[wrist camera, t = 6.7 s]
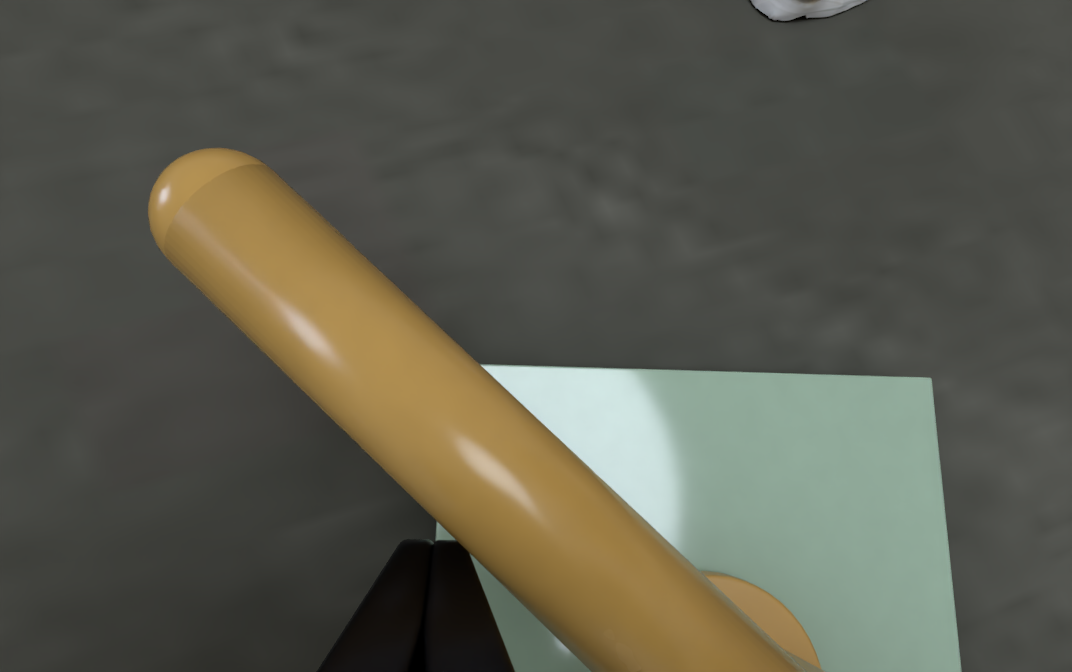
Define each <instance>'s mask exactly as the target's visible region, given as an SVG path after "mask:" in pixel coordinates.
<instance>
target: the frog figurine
mask: <svg viewBox="0 0 1072 672" xmlns="http://www.w3.org/2000/svg"><path fill="white" fill-rule="evenodd" d="M751 1H752V4H753V5H754V6H755V9H756V8H758V9H759V10H760V11H761V12H762V13H764V14H765V15H767V16H768V18H769V19H773V20H781V21H789V20H792V19H795V18H798V17H800V16H804V15H806V18H809V17H811V18H814V17H815V18H816V17H829V16H832V15H835V14H837V13H841V12H842V11H846V10H848V9H849V8H852V7H853V6H856V5H859V4H861V3H863V2H865V1H867V0H751Z"/></svg>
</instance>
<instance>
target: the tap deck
mask: <svg viewBox="0 0 1072 672" xmlns="http://www.w3.org/2000/svg"><path fill="white" fill-rule="evenodd" d="M480 365H481V366H482V367H483V368H484V369H485V370H486V371H487V372H488V373H490V374H491V375H492V376H493V377H494V378H495V379H496V380H497V381H498V382H499V383H500V384H501V385H502V386H503V387H504V388H506V389H507V390H508V391H509V392H510V393H511V394H512V395H513V396H514V397H515V398H516V399H517V400H518V401H519V402H520V403H521V404H523V405H524V406H525V407H526V408H527V409H528V410H529V411H530V412H531V413H532V414H533V415H534V416H535V417H536V418H537V419H539V420H540V421H541V422H542V423H543V424H544V425H545V426H546V427H547V428H548V429H549V430H550V431H551V432H552V433H553V434H554V435H556V436H557V437H558V438H559V439H560V440H561V441H562V442H563V443H564V444H565V445H566V446H567V447H568V448H569V449H570V450H572V451H573V452H574V453H575V454H576V455H577V456H578V457H579V458H580V459H581V460H582V461H583V462H584V463H585V464H586V465H587V466H589V467H590V468H591V469H592V470H593V471H594V472H595V473H596V474H597V475H598V476H599V477H600V478H601V479H602V480H603V481H605V482H606V483H607V484H608V485H609V486H610V487H611V488H612V489H613V490H614V491H615V492H616V493H617V494H618V495H619V496H620V497H622V498H623V499H624V500H625V501H626V502H627V503H628V504H629V505H630V506H631V507H632V508H633V509H634V510H635V511H636V512H638V513H639V514H640V515H641V516H642V517H643V518H644V519H645V520H646V521H647V522H648V523H649V524H650V525H651V526H652V527H653V528H655V529H656V530H657V531H658V532H659V533H660V534H661V535H662V536H663V537H664V538H665V539H666V540H667V541H668V542H669V543H671V544H672V545H673V546H674V547H675V548H676V549H677V550H678V551H679V552H680V553H681V554H682V555H683V556H684V557H685V558H686V559H688V560H689V561H690V562H691V563H692V564H693V565H694V566H695V567H696V568H697V569H698V570H699V571H710V572H718V573H723V574H727V575H730V576H734V577H736V578H739V579H742V580H744V581H747V582H749V583H752V584H754V585H756V586H758V587H760V588H762V589H763V590H765V591H767V592H768V593H770V594H771V595H773V596H774V597H775V598H776V599H778V600H779V601H780V602H782V603H783V604H784V605H785V606H786V607H787V608H788V609H789V610H790V611H791V612H792V614H793V615H794V616H795V617H796V619H797V620H798V621H799V622H800V624H801V625H802V627H803V628H804V630H805V632H806V633H807V635H808V636H809V638H810V640H811V642H812V645H813V647H814V649H815V651H816V654H817V657H818V660H819V663H820V666H821V669H822V670H823V671H825V672H962V671H961V661H960V651H959V642H958V632H957V622H956V613H955V603H954V593H953V583H952V574H951V564H950V554H949V545H948V535H947V525H946V515H945V506H944V496H943V486H942V477H941V467H940V457H939V448H938V438H937V428H936V418H935V409H934V399H933V389H932V380H931V378H929V377H896V376H863V375H829V374H796V373H763V372H730V371H696V370H663V369H630V368H596V367H563V366H530V365H496V364H480ZM437 540H456V539H455V538H453V537H452V536H451V535H450V534H449V533H448V532H447V531H446V530H445V529H444V528H443V527H442V526H441V525H440V524H439V523H438V522H437V521H436V540H435V541H437ZM470 556H471V558H472V561H473V563H474V566H475V569H476V571H477V574H478V576H479V579H480V582H481V584H482V587H483V589H484V592H485V595H486V597H487V600H488V602H489V605H490V608H491V610H492V613H493V615H494V618H495V621H496V623H497V626H498V628H499V631H500V633H501V636H502V639H503V641H504V644H505V646H506V649H507V652H508V654H509V657H510V659H511V662H512V665H513V667H514V670H515V672H591V671H590V670H589V669H588V668H587V667H586V666H585V665H584V664H583V663H582V662H581V661H580V660H579V659H578V658H577V657H576V656H575V655H574V654H573V653H572V652H571V651H570V650H569V649H568V648H567V647H565V646H564V645H563V644H562V643H561V642H560V641H559V640H558V639H557V638H556V637H555V636H554V635H553V634H552V633H551V632H550V631H549V630H548V629H547V628H546V627H545V626H544V625H543V624H542V623H541V622H540V621H539V620H538V619H537V618H536V617H535V616H534V615H533V614H532V613H531V612H530V611H528V610H527V609H526V608H525V607H524V606H523V605H522V604H521V603H520V602H519V601H518V600H517V599H516V598H515V597H514V596H513V595H512V594H511V593H510V592H509V591H508V590H507V589H506V588H505V587H504V586H503V585H502V584H501V583H500V582H499V581H498V580H497V579H496V578H495V577H494V576H493V575H492V574H490V573H489V572H488V571H487V570H486V569H485V568H484V567H483V566H482V565H481V564H480V563H479V562H478V561H477V560H476V559H475V558H474V557H473V556H472V555H471V554H470Z"/></svg>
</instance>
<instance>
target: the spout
mask: <svg viewBox="0 0 1072 672" xmlns="http://www.w3.org/2000/svg"><path fill="white" fill-rule="evenodd" d="M148 220H149V225H150V229H151V232H152V235H153V237H154V239H155V241H156V243H157V245H158V247H159V249H160V250H161V251H162V253H163V254H164V255H165V256H166V258H167V259H168V260H169V261H170V262H171V263H172V264H173V265H174V266H175V267H176V268H177V269H178V270H179V271H180V272H181V273H182V274H183V275H184V276H185V277H186V278H187V279H188V280H189V281H190V282H191V283H192V284H193V285H195V286H196V287H197V288H198V289H199V290H200V291H201V292H202V293H203V294H204V295H205V296H206V297H207V298H208V299H209V300H210V301H211V302H212V303H213V304H214V305H215V306H216V307H217V308H218V309H219V310H220V311H221V312H222V313H223V314H224V315H225V316H226V317H227V318H228V319H229V320H230V321H232V322H233V323H234V324H235V325H236V326H237V327H238V328H239V329H240V330H241V331H242V332H243V333H244V334H245V335H246V336H247V337H248V338H249V339H250V340H251V341H252V342H253V343H254V344H255V345H256V346H257V347H258V348H259V349H260V350H261V351H262V352H263V353H264V354H265V355H266V356H267V357H269V358H270V359H271V360H272V361H273V362H274V363H275V364H276V365H277V366H278V367H279V368H280V369H281V370H282V371H283V372H284V373H285V374H286V375H287V376H288V377H289V378H290V379H291V380H292V381H293V382H294V383H295V384H296V385H297V386H298V387H299V388H300V389H301V390H302V391H303V392H304V393H305V394H307V395H308V396H309V397H310V398H311V399H312V400H313V401H314V402H315V403H316V404H317V405H318V406H319V407H320V408H321V409H322V410H323V411H324V412H325V413H326V414H327V415H328V416H329V417H330V418H331V419H332V420H333V421H334V422H335V423H336V424H337V425H338V426H339V427H340V428H341V429H342V430H344V431H345V432H346V433H347V434H348V435H349V436H350V437H351V438H352V439H353V440H354V441H355V442H356V443H357V444H358V445H359V446H360V447H361V448H362V449H363V450H364V451H365V452H366V453H367V454H368V455H369V456H370V457H371V458H372V459H373V460H374V461H375V462H376V463H377V464H378V465H379V466H381V467H382V468H383V469H384V470H385V471H386V472H387V473H388V474H389V475H390V476H391V477H392V478H393V479H394V480H395V481H396V482H397V483H398V484H399V485H400V486H401V487H402V488H403V489H404V490H405V491H406V492H407V493H408V494H409V495H410V496H411V497H412V498H413V499H414V500H415V501H416V502H418V503H419V504H420V505H421V506H422V507H423V508H424V509H425V510H426V511H427V512H428V513H429V514H430V515H431V516H432V517H433V518H434V519H435V520H436V521H437V522H438V523H439V524H440V525H441V526H442V527H443V528H444V529H445V530H446V531H447V532H448V533H449V534H450V535H451V536H452V537H453V538H455V539H456V540H457V541H458V542H459V543H460V544H461V545H462V546H463V547H464V548H465V549H466V550H467V551H468V552H469V553H470V554H471V555H472V556H473V557H474V558H475V559H476V560H477V561H478V562H479V563H480V564H481V565H482V566H483V567H484V568H485V569H486V570H487V571H488V572H489V573H490V574H492V575H493V576H494V577H495V578H496V579H497V580H498V581H499V582H500V583H501V584H502V585H503V586H504V587H505V588H506V589H507V590H508V591H509V592H510V593H511V594H512V595H513V596H514V597H515V598H516V599H517V600H518V601H519V602H520V603H521V604H522V605H523V606H524V607H525V608H526V609H527V610H528V611H530V612H531V613H532V614H533V615H534V616H535V617H536V618H537V619H538V620H539V621H540V622H541V623H542V624H543V625H544V626H545V627H546V628H547V629H548V630H549V631H550V632H551V633H552V634H553V635H554V636H555V637H556V638H557V639H558V640H559V641H560V642H561V643H562V644H563V645H564V646H565V647H567V648H568V649H569V650H570V651H571V652H572V653H573V654H574V655H575V656H576V657H577V658H578V659H579V660H580V661H581V662H582V663H583V664H584V665H585V666H586V667H587V668H588V669H589V670H590V671H591V672H807V671H806V670H805V669H804V668H803V667H801V666H800V665H799V664H798V663H797V662H796V661H795V660H794V659H793V658H792V657H791V656H790V655H789V654H788V653H787V652H785V651H784V650H783V649H782V648H781V647H780V646H779V645H778V644H777V643H776V642H775V641H774V640H773V639H772V638H771V637H770V636H768V635H767V634H766V633H765V632H764V631H763V630H762V629H761V628H760V627H759V626H758V625H757V624H756V623H755V622H754V621H752V620H751V619H750V618H749V617H748V616H747V615H746V614H745V613H744V612H743V611H742V610H741V609H740V608H739V607H738V606H737V605H735V604H734V603H733V602H732V601H731V600H730V599H729V598H728V597H727V596H726V595H725V594H724V593H723V592H722V591H721V590H719V589H718V588H717V587H716V586H715V585H714V584H713V583H712V582H711V581H710V580H709V579H708V578H707V577H706V576H705V575H704V574H702V573H701V572H700V571H699V570H698V569H697V568H696V567H695V566H694V565H693V564H692V563H691V562H690V561H689V560H688V559H686V558H685V557H684V556H683V555H682V554H681V553H680V552H679V551H678V550H677V549H676V548H675V547H674V546H673V545H672V544H671V543H669V542H668V541H667V540H666V539H665V538H664V537H663V536H662V535H661V534H660V533H659V532H658V531H657V530H656V529H655V528H653V527H652V526H651V525H650V524H649V523H648V522H647V521H646V520H645V519H644V518H643V517H642V516H641V515H640V514H639V513H638V512H636V511H635V510H634V509H633V508H632V507H631V506H630V505H629V504H628V503H627V502H626V501H625V500H624V499H623V498H622V497H620V496H619V495H618V494H617V493H616V492H615V491H614V490H613V489H612V488H611V487H610V486H609V485H608V484H607V483H606V482H605V481H603V480H602V479H601V478H600V477H599V476H598V475H597V474H596V473H595V472H594V471H593V470H592V469H591V468H590V467H589V466H587V465H586V464H585V463H584V462H583V461H582V460H581V459H580V458H579V457H578V456H577V455H576V454H575V453H574V452H573V451H572V450H570V449H569V448H568V447H567V446H566V445H565V444H564V443H563V442H562V441H561V440H560V439H559V438H558V437H557V436H556V435H554V434H553V433H552V432H551V431H550V430H549V429H548V428H547V427H546V426H545V425H544V424H543V423H542V422H541V421H540V420H539V419H537V418H536V417H535V416H534V415H533V414H532V413H531V412H530V411H529V410H528V409H527V408H526V407H525V406H524V405H523V404H521V403H520V402H519V401H518V400H517V399H516V398H515V397H514V396H513V395H512V394H511V393H510V392H509V391H508V390H507V389H506V388H504V387H503V386H502V385H501V384H500V383H499V382H498V381H497V380H496V379H495V378H494V377H493V376H492V375H491V374H490V373H488V372H487V371H486V370H485V369H484V368H483V367H482V366H481V365H480V364H479V363H478V362H477V361H476V360H475V359H474V358H473V357H471V356H470V355H469V354H468V353H467V352H466V351H465V350H464V349H463V348H462V347H461V346H460V345H459V344H458V343H457V342H455V341H454V340H453V339H452V338H451V337H450V336H449V335H448V334H447V333H446V332H445V331H444V330H443V329H442V328H441V327H440V326H438V325H437V324H436V323H435V322H434V321H433V320H432V319H431V318H430V317H429V316H428V315H427V314H426V313H425V312H424V311H422V310H421V309H420V308H419V307H418V306H417V305H416V304H415V303H414V302H413V301H412V300H411V299H410V298H409V297H408V296H406V295H405V294H404V293H403V292H402V291H401V290H400V289H399V288H398V287H397V286H396V285H395V284H394V283H393V282H392V281H391V280H389V279H388V278H387V277H386V276H385V275H384V274H383V273H382V272H381V271H380V270H379V269H378V268H377V267H376V266H375V265H373V264H372V263H371V262H370V261H369V260H368V259H367V258H366V257H365V256H364V255H363V254H362V253H361V252H360V251H359V250H358V249H356V248H355V247H354V246H353V245H352V244H351V243H350V242H349V241H348V240H347V239H346V238H345V237H344V236H343V235H342V234H340V233H339V232H338V231H337V230H336V229H335V228H334V227H333V226H332V225H331V224H330V223H329V222H328V221H327V220H326V219H325V218H323V217H322V216H321V215H320V214H319V213H318V212H317V211H316V210H315V209H314V208H313V207H312V206H311V205H310V204H309V203H307V202H306V201H305V200H304V199H303V198H302V197H301V196H300V195H299V194H298V193H297V192H296V191H295V190H294V189H293V188H292V187H290V186H289V185H288V184H287V183H286V182H285V181H284V180H283V179H282V178H281V177H280V176H279V175H278V174H277V173H276V172H274V171H273V170H272V169H271V168H270V167H268V166H267V165H266V164H265V163H263V162H262V161H260V160H258V159H256V158H254V157H252V156H250V155H248V154H246V153H244V152H240V151H236V150H232V149H226V148H207V149H201V150H197V151H194V152H191V153H188V154H186V155H183V156H181V157H180V158H178V159H176V160H175V161H174V162H172V163H171V164H170V165H169V166H167V167H166V168H165V169H164V171H163V172H162V173H161V174H160V175H159V177H158V179H157V180H156V182H155V184H154V187H153V189H152V191H151V194H150V198H149V205H148Z"/></svg>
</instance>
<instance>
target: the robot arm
mask: <svg viewBox="0 0 1072 672" xmlns="http://www.w3.org/2000/svg"><path fill="white" fill-rule="evenodd" d="M317 672H515V670H514V667H513V665H512V662H511V659H510V657H509V654H508V652H507V649H506V646H505V644H504V641H503V639H502V636H501V633H500V631H499V628H498V626H497V623H496V621H495V618H494V615H493V613H492V610H491V608H490V605H489V602H488V600H487V597H486V595H485V592H484V589H483V587H482V584H481V582H480V579H479V576H478V574H477V571H476V569H475V566H474V563H473V561H472V558H471V556H470V553H469V552H468V551H467V550H466V549H465V548H464V547H463V546H462V545H461V544H460V543H459V542H458V541H457V540H437V541H435V542H434V544H433V542H432V541H430V540H422V539H407V540H403V541H402V542H401V543H400V544H399V545H398V546H397V548H396V549H395V551H394V553H393V554H392V556H391V557H390V559H389V560H388V562H387V563H386V565H385V567H384V568H383V570H382V571H381V573H380V574H379V576H378V577H377V579H376V580H375V582H374V584H373V585H372V587H371V588H370V590H369V591H368V593H367V594H366V596H365V598H364V599H363V601H362V602H361V604H360V605H359V607H358V608H357V610H356V611H355V613H354V615H353V616H352V618H351V619H350V621H349V622H348V624H347V625H346V627H345V629H344V630H343V632H342V633H341V635H340V636H339V638H338V639H337V641H336V642H335V644H334V646H333V647H332V649H331V650H330V652H329V653H328V655H327V656H326V658H325V660H324V661H323V663H322V664H321V666H320V667H319V669H318V670H317Z"/></svg>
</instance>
